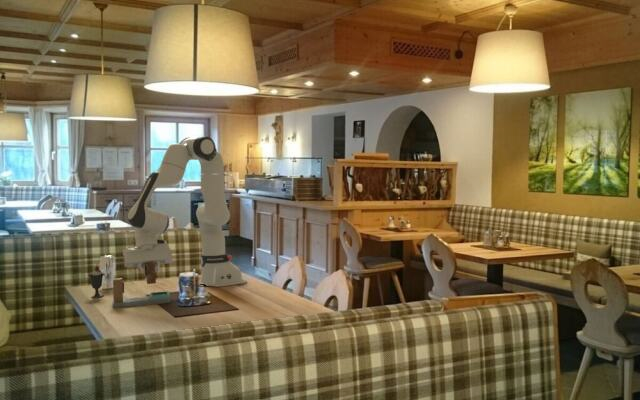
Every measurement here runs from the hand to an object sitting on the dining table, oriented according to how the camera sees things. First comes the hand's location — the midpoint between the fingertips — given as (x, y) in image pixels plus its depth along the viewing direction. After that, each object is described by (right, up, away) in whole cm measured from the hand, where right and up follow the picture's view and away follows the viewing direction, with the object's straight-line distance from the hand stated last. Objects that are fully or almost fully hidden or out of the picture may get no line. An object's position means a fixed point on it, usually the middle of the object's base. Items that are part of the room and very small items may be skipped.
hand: (150, 271), depth 250 cm
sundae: (-24, -12, +3) cm, 27 cm away
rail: (0, -12, -11) cm, 16 cm away
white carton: (-27, -11, +24) cm, 37 cm away
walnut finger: (0, -5, +1) cm, 5 cm away
